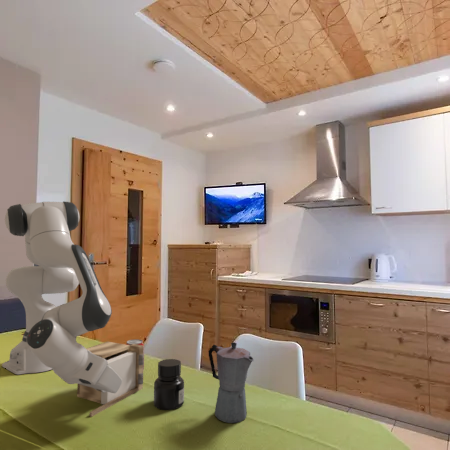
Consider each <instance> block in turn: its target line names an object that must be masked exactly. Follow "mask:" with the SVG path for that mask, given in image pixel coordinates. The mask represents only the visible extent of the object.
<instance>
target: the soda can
mask: <svg viewBox="0 0 450 450" xmlns="http://www.w3.org/2000/svg"><path fill="white" fill-rule="evenodd" d="M133 344H138V345H144V343H143V339H139V338H138V339H129V340H127V341H126V344H125V345H133ZM144 346H145V345H144ZM143 355H144V356H145V348H144V349H143ZM144 367H145V363H144V364H143V371H144V369H145V368H144Z"/></svg>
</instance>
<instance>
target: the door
mask: <svg viewBox="0 0 450 450" xmlns="http://www.w3.org/2000/svg"><path fill="white" fill-rule="evenodd" d="M107 362H108V364H107V365H108V366H110V367H111V368H112V369H113V370H114V371H115V372H116V373H117V374H118V375H119V377H120V378H121V379H122V383H121V385H120V387H119V389H118V391H117V392H116V393H111V392H107V391H106V392H105V393H104V392H101V403H100V405H104V404H106V403H108V402H110V401H112V400H113V399H115V398H117V397H119V396H121V395H123V394H125V393H126V392H128V391H130V390H132V389H134V388H135V381H136V352H131V351H130V352H127V353H125V354H122V355H119V356H117V357H114V358H112V359H109V360H107Z"/></svg>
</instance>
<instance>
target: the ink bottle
mask: <svg viewBox="0 0 450 450" xmlns="http://www.w3.org/2000/svg"><path fill="white" fill-rule="evenodd" d="M181 372H182V363H181V360H180V359H176V358H175V359H174V358H166V359H162V360H160V361H159V362H158V363H157V376H158V377H157V378H156V379H155V380H154V381H153V406H154V407H155V408H156V409H157V410H162V411H170V410H176V409H178V408H181V407H182V406H183V404H184V403H185V380H184V379H183V377H181V374H182V373H181Z"/></svg>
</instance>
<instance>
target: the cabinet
mask: <svg viewBox="0 0 450 450" xmlns="http://www.w3.org/2000/svg"><path fill="white" fill-rule="evenodd" d="M85 348H86V349H87V350H89V351H90V352H91V353H93V354H95V355H97V356H99V357H102V358H104V359H106V360H109V359H112V358H114V357H117V356H119V355H122V354H125V353H127V352H130V351H131V352H136V381H135V388H134V389H132V390H130V391H128V392H126V393H125V394H123V395H121V396H119V397H117V398H115V399H113V400H112V401H110V402H108V403H106V404H101V392H100V391H97V390H95V389H94V388H92V387H88V386H84V385H80V384H77V390H76V391H77V393H76V397H77V398H80V399H84V400H88V401H91V402H93V403H94V402H95V403H98V404H101V405H100V406H99V407H97V408H95V409H93V410H91V411H89V413H88V415H89V417H90V418H91V417H94V416H96V415H98V414H99V413H101V412H103V411H105V410H107V409H108V408H111V407H112V406H114V405H115V404H118V403H119V402H121V401H123V400H125V399H126V398H128V397H130V396H132V395H134V394H135V393H137V392H139V391H141V390H143V387H144V385H143V384H144V370H143V364H144V365H145V354H144V355H143V349H144V350H145V345H138V344H133V345H126V344H125V343H118V342H112V341H105V342H102V343H99V344H96V345H93V346H90V347H85Z"/></svg>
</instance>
